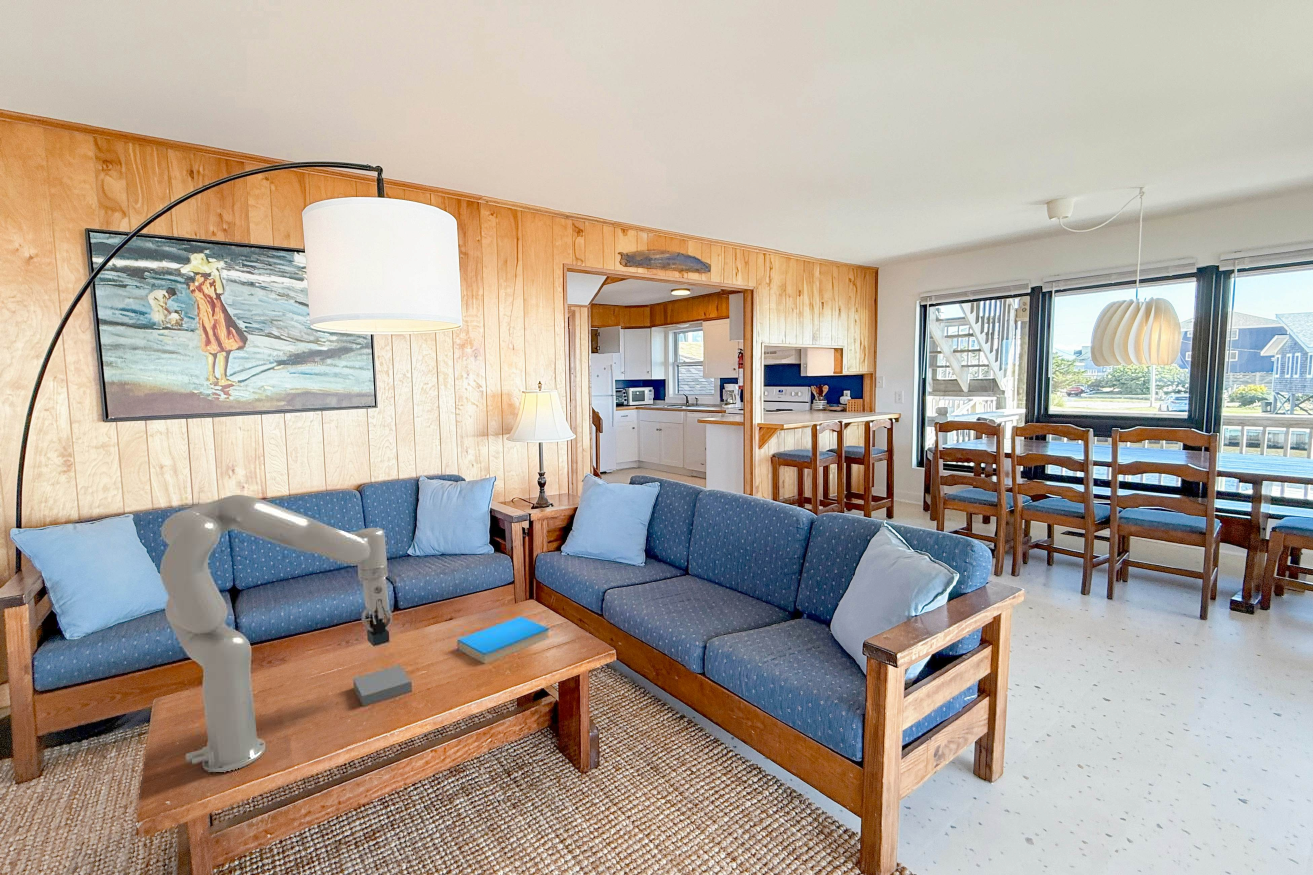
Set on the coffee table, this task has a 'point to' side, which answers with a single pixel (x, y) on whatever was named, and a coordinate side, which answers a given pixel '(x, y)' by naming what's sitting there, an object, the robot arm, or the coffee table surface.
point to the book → (502, 639)
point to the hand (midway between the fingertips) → (378, 633)
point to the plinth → (382, 685)
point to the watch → (377, 638)
